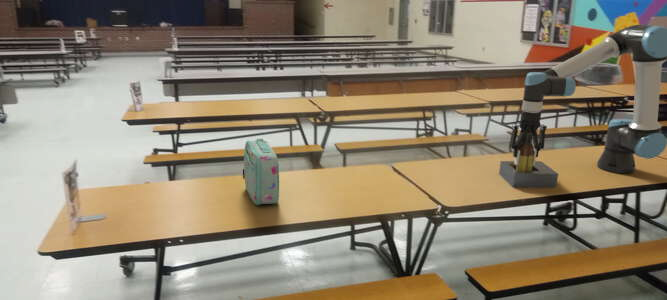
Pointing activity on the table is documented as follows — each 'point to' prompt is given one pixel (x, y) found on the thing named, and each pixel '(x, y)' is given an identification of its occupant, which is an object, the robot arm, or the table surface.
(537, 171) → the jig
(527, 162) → the sauce bottle
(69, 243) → the table surface
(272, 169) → the lunch box
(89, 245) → the table surface
